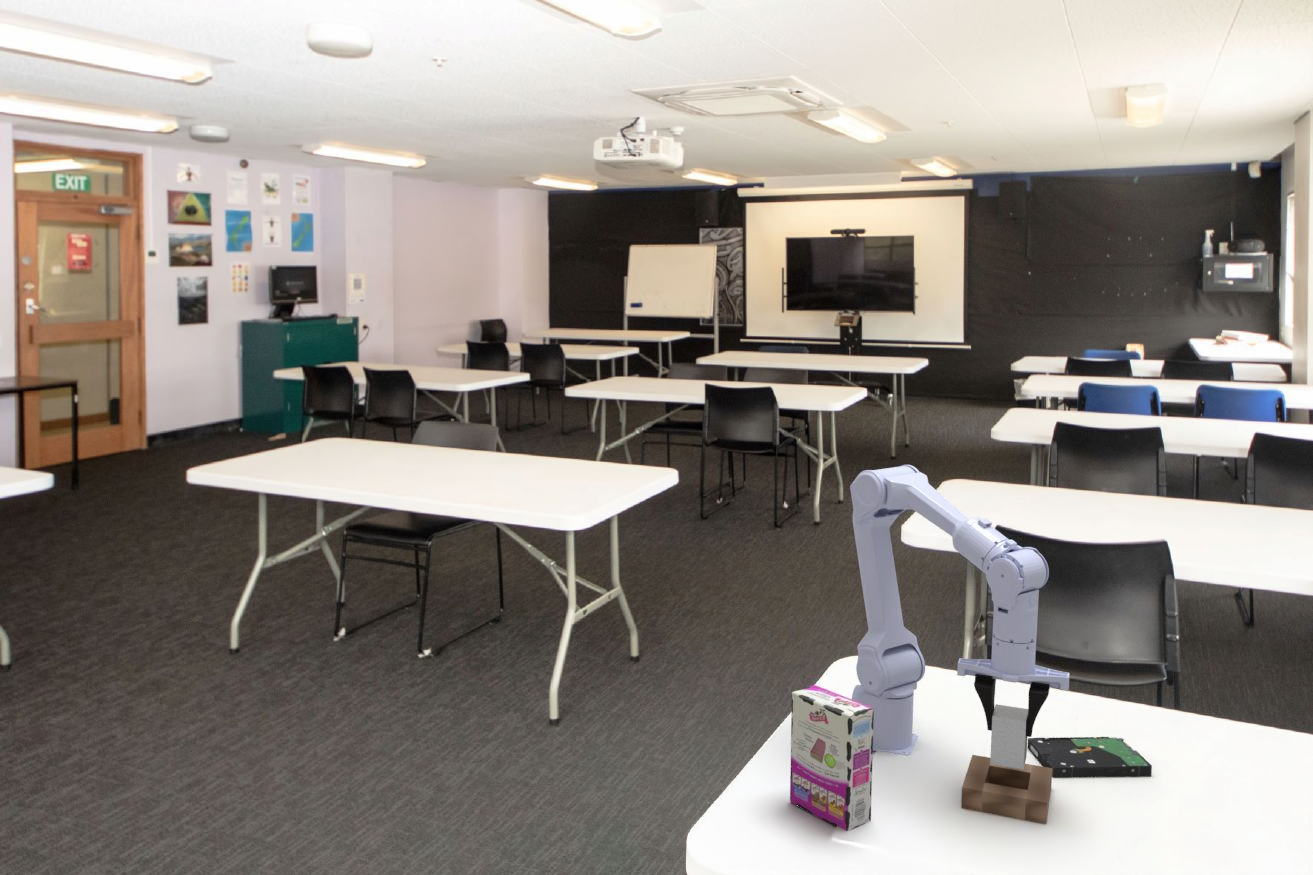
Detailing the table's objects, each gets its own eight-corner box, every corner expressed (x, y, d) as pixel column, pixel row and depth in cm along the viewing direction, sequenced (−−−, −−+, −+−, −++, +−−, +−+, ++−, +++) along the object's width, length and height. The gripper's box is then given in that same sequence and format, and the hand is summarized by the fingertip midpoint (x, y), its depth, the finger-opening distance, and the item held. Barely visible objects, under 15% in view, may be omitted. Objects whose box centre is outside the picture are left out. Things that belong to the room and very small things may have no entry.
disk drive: (1052, 785, 153) (1152, 782, 153) (1053, 767, 152) (1153, 764, 153) (1025, 754, 163) (1119, 751, 163) (1026, 737, 163) (1120, 734, 163)
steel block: (990, 763, 145) (992, 715, 144) (993, 751, 149) (995, 704, 148) (1023, 769, 143) (1026, 720, 142) (1026, 756, 147) (1028, 709, 146)
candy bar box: (873, 823, 141) (876, 707, 139) (847, 835, 138) (850, 716, 136) (813, 791, 150) (815, 682, 148) (788, 802, 147) (789, 690, 144)
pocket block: (961, 811, 144) (962, 787, 144) (971, 776, 154) (972, 754, 154) (1046, 827, 140) (1047, 802, 139) (1051, 791, 150) (1052, 768, 149)
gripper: (955, 638, 143) (951, 733, 145) (1069, 653, 137) (1064, 751, 139) (962, 623, 149) (959, 714, 151) (1072, 636, 143) (1066, 730, 145)
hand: (1009, 730), depth 145 cm, fingers closed on steel block, 4 cm apart
